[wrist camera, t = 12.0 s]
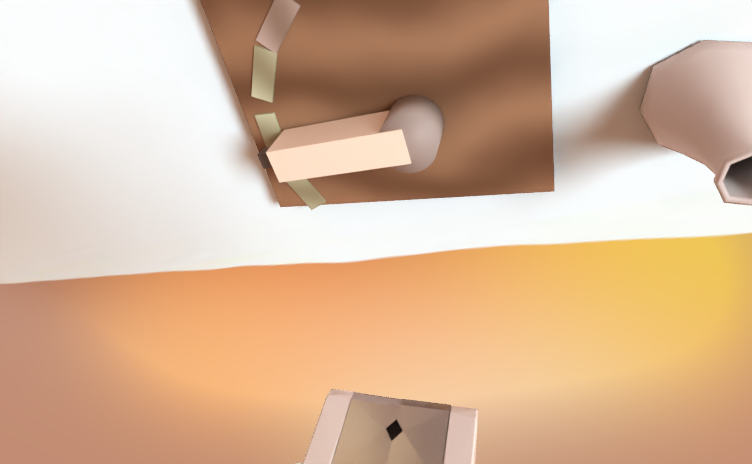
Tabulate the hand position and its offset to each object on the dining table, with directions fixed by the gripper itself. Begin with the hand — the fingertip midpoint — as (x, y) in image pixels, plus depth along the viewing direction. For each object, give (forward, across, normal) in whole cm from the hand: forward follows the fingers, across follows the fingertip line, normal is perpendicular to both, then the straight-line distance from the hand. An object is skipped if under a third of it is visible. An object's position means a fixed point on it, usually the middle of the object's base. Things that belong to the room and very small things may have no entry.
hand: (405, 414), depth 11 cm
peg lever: (+27, +9, +8) cm, 30 cm away
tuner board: (+29, +7, +4) cm, 30 cm away
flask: (+29, -13, +5) cm, 32 cm away
